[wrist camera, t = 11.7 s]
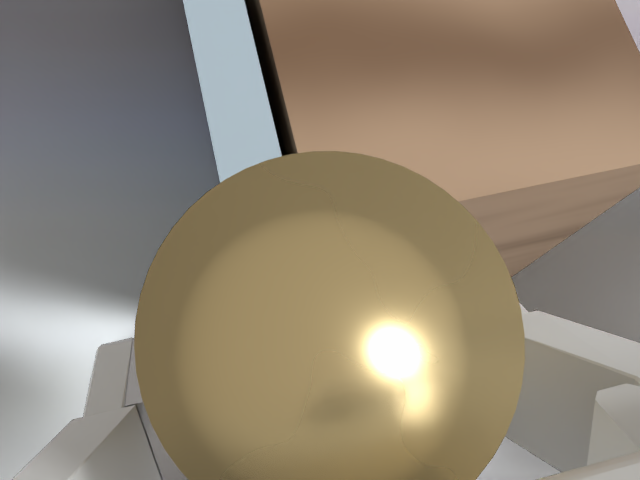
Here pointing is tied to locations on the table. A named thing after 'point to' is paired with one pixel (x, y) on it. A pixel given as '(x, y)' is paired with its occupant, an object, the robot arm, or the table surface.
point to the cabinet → (466, 102)
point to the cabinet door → (231, 85)
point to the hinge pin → (329, 328)
